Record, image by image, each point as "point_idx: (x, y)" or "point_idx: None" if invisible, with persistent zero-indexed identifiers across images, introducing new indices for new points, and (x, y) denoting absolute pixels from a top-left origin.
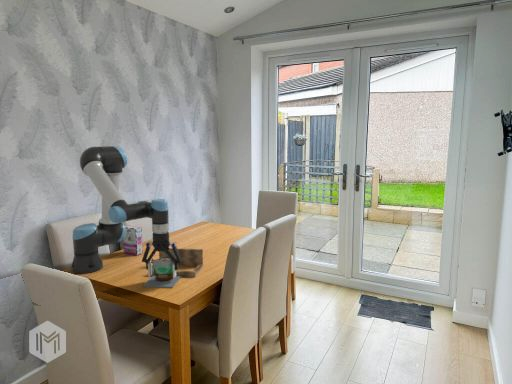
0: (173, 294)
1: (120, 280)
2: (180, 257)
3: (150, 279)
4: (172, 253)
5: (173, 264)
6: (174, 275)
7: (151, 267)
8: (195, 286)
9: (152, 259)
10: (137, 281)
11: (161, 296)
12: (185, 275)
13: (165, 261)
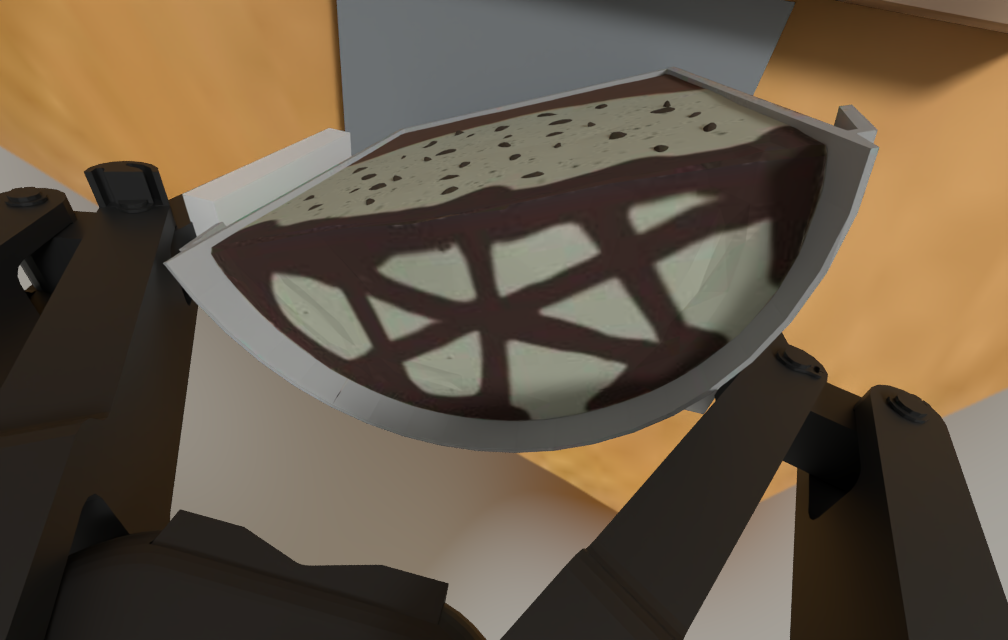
0: (639, 446)
1: (44, 78)
2: (949, 487)
3: (361, 134)
4: (737, 532)
5: (689, 408)
6: None
7: (286, 176)
8: (878, 359)
9: (221, 306)
10: (237, 134)
11: (553, 452)
12: (877, 4)
13: (532, 438)
